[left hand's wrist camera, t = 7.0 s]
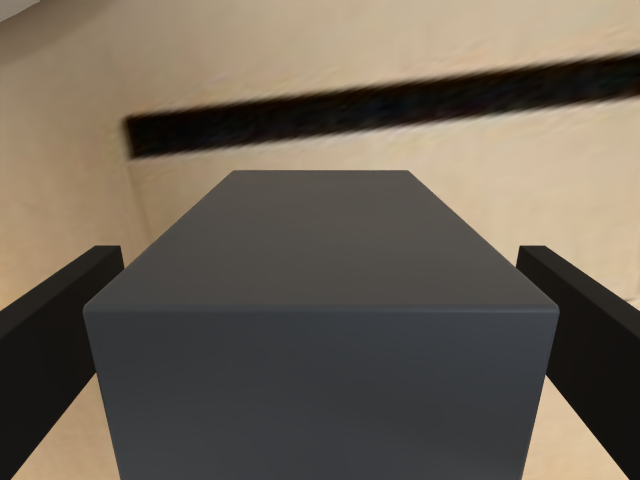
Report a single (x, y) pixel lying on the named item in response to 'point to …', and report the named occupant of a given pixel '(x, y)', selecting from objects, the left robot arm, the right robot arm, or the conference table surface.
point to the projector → (14, 7)
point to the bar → (321, 338)
